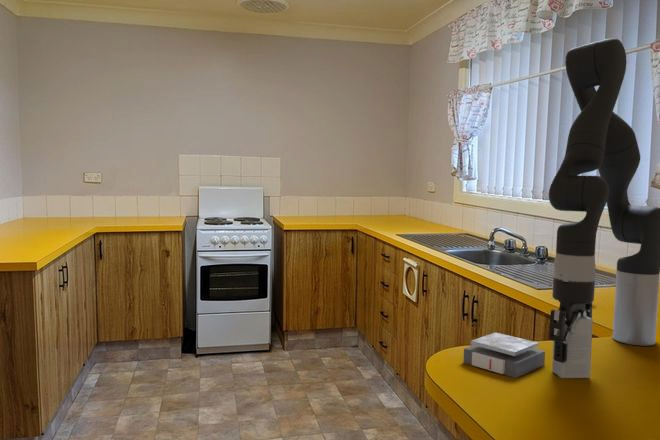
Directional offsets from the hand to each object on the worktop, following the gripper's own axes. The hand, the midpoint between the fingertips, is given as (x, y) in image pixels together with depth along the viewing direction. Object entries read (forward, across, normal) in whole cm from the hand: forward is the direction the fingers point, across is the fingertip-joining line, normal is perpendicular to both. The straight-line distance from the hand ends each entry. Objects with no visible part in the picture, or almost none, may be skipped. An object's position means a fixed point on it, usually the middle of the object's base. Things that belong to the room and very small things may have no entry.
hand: (569, 357), depth 108 cm
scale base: (+4, +4, -12) cm, 13 cm away
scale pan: (0, +4, -12) cm, 13 cm away
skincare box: (+4, 0, 0) cm, 4 cm away
